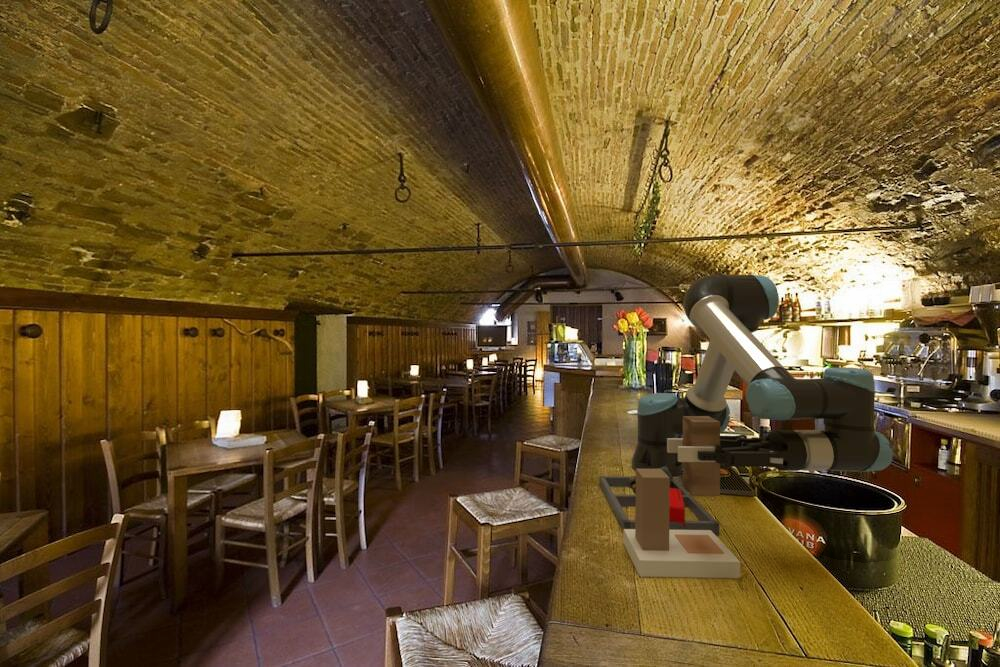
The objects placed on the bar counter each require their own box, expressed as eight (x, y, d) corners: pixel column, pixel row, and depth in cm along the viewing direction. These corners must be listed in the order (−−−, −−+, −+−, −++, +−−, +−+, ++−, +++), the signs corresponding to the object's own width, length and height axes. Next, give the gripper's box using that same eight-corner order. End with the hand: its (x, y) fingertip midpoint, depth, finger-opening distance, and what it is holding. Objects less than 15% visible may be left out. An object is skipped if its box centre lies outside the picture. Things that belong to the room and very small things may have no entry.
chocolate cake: (626, 498, 116) (660, 472, 112) (624, 481, 123) (657, 456, 118) (652, 520, 117) (687, 496, 112) (649, 503, 123) (682, 479, 119)
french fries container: (640, 532, 98) (639, 502, 111) (684, 539, 95) (677, 507, 108) (640, 503, 97) (639, 476, 110) (685, 508, 94) (678, 480, 108)
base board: (623, 543, 91) (623, 462, 91) (710, 544, 91) (711, 463, 90) (639, 576, 79) (640, 484, 79) (740, 578, 79) (741, 485, 78)
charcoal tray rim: (599, 484, 124) (599, 475, 124) (672, 485, 123) (672, 476, 123) (624, 533, 96) (624, 522, 95) (719, 534, 95) (719, 523, 95)
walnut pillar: (682, 486, 87) (682, 416, 86) (708, 486, 86) (708, 416, 86) (692, 496, 82) (693, 421, 81) (719, 496, 81) (720, 421, 81)
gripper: (830, 487, 74) (691, 486, 75) (768, 455, 92) (657, 454, 93) (830, 443, 74) (691, 443, 75) (768, 420, 92) (657, 420, 93)
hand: (673, 449), depth 84 cm, fingers closed on walnut pillar, 5 cm apart
